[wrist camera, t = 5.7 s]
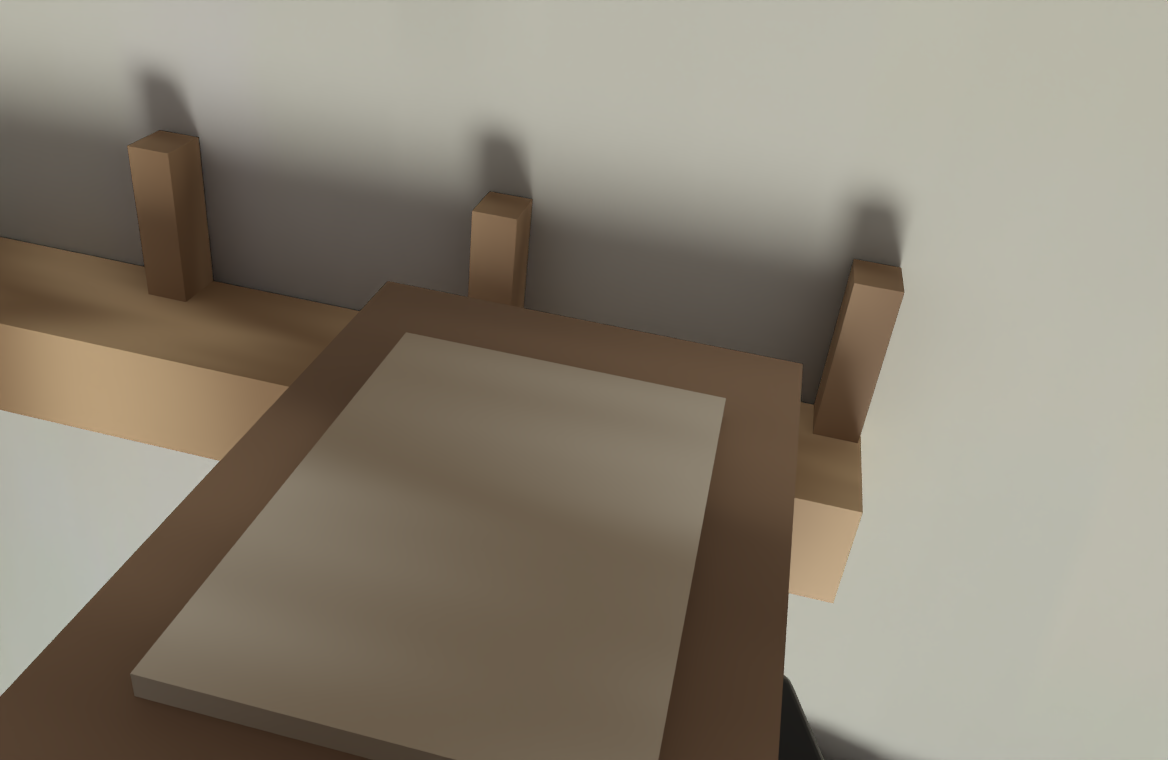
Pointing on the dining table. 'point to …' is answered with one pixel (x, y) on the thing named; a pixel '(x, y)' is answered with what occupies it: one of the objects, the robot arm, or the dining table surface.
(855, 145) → the dining table surface
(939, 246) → the dining table surface
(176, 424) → the rail
